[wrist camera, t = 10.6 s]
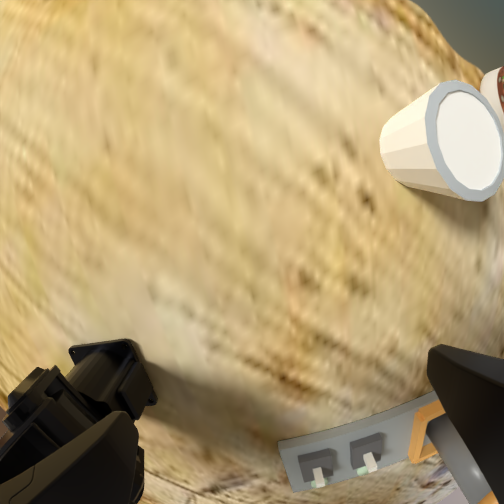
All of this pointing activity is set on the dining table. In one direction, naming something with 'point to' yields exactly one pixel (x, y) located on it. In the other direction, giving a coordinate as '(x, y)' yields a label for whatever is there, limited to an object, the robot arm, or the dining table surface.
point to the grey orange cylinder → (459, 461)
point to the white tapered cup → (446, 143)
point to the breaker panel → (361, 445)
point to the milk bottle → (494, 91)
